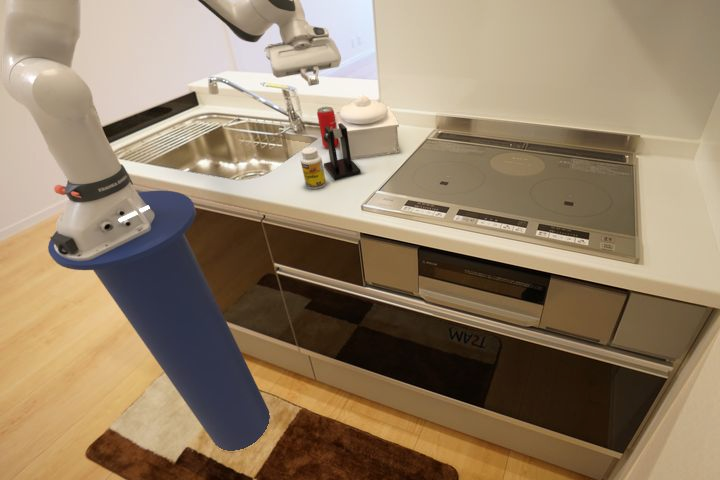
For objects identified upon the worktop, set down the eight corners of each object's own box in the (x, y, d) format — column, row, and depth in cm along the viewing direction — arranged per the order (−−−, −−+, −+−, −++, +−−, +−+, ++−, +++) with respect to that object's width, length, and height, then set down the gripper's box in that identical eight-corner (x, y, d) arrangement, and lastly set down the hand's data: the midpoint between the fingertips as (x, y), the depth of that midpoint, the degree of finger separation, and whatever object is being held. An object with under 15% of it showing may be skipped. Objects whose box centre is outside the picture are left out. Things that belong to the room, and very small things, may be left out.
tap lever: (324, 145, 124) (321, 134, 123) (334, 142, 125) (331, 131, 124) (333, 140, 112) (330, 128, 112) (344, 137, 113) (341, 125, 112)
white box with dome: (338, 138, 139) (330, 89, 129) (390, 131, 141) (387, 82, 131) (342, 160, 126) (334, 107, 116) (400, 152, 128) (397, 100, 118)
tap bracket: (324, 167, 123) (316, 124, 115) (349, 160, 125) (343, 118, 117) (334, 180, 116) (326, 136, 108) (361, 173, 118) (355, 130, 110)
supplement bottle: (303, 189, 113) (295, 154, 107) (310, 179, 117) (303, 145, 111) (322, 190, 112) (315, 155, 106) (329, 180, 116) (322, 146, 110)
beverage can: (333, 141, 137) (327, 105, 130) (342, 146, 134) (336, 109, 126) (320, 146, 135) (313, 109, 127) (328, 151, 132) (322, 113, 124)
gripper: (261, 38, 113) (278, 84, 113) (332, 27, 119) (348, 71, 119) (263, 53, 119) (278, 96, 119) (330, 42, 125) (345, 83, 125)
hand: (314, 84), depth 119 cm, fingers closed
